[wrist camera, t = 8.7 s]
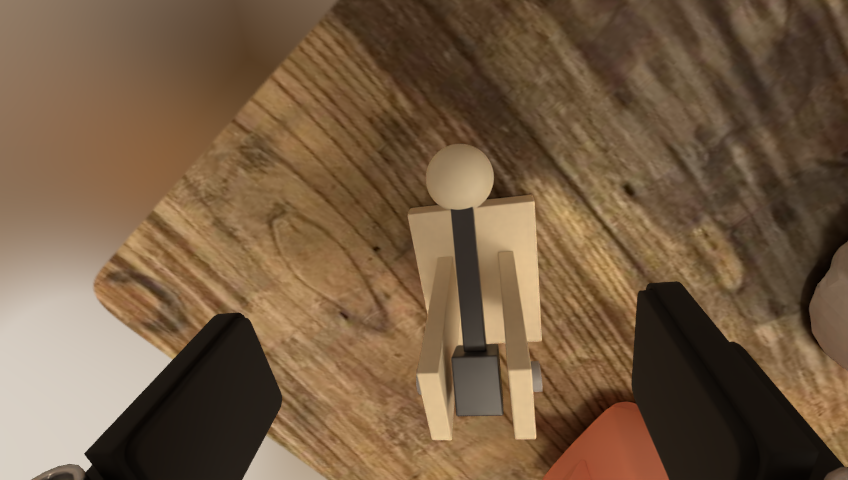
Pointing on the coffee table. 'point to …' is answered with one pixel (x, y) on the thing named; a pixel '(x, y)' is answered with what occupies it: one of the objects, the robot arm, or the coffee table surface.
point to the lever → (468, 276)
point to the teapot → (611, 450)
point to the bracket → (502, 304)
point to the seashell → (832, 309)
